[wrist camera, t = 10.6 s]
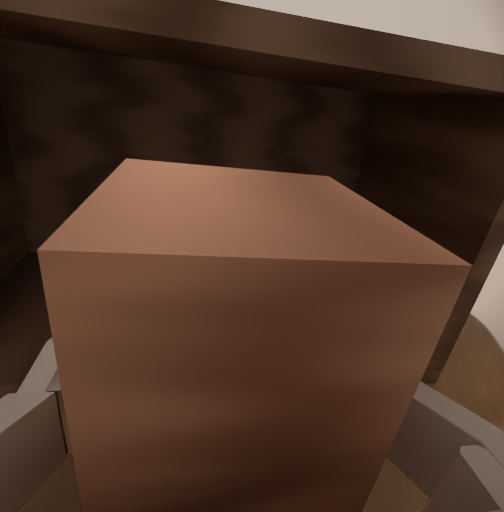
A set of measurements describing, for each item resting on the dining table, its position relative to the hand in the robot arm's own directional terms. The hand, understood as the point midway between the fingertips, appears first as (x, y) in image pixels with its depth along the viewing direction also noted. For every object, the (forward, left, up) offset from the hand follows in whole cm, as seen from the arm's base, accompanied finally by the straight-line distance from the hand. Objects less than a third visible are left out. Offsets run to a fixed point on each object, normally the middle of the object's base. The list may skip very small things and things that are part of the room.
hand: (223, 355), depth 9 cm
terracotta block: (0, -1, -5) cm, 6 cm away
